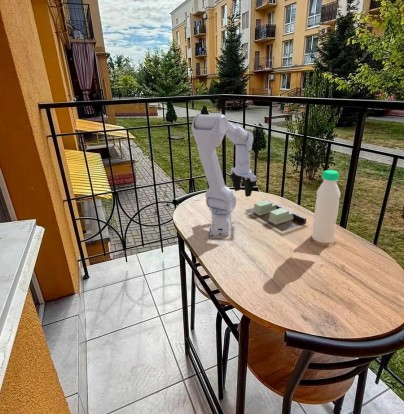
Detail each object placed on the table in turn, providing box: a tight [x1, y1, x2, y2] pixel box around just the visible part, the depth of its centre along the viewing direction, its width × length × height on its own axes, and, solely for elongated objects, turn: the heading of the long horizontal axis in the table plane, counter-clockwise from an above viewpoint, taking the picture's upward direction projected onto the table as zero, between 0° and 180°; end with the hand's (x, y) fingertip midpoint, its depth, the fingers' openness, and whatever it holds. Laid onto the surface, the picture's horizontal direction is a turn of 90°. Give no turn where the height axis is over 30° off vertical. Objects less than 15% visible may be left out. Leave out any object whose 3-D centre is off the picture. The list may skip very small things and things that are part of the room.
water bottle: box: [311, 169, 341, 245], centre depth 92 cm, size 7×7×25 cm
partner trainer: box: [253, 199, 277, 216], centre depth 116 cm, size 9×4×4 cm, turn 118°
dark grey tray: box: [245, 199, 307, 232], centre depth 112 cm, size 12×22×4 cm, turn 28°
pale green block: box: [269, 207, 293, 225], centre depth 108 cm, size 9×4×4 cm, turn 118°
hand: (242, 193), depth 116 cm, fingers open, 7 cm apart
